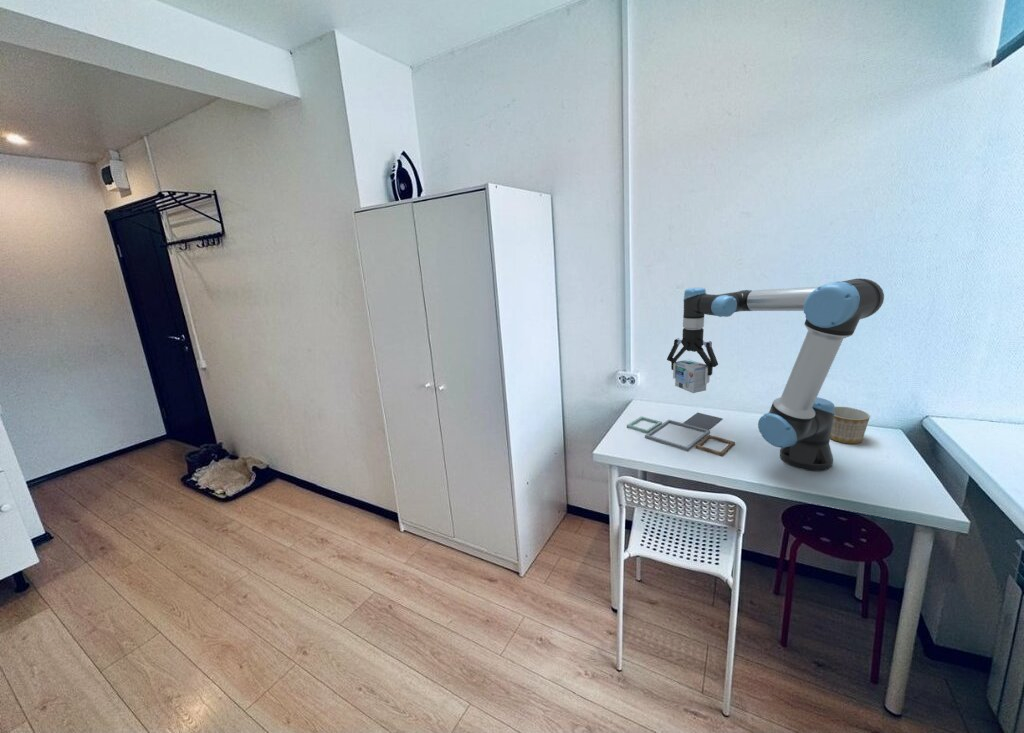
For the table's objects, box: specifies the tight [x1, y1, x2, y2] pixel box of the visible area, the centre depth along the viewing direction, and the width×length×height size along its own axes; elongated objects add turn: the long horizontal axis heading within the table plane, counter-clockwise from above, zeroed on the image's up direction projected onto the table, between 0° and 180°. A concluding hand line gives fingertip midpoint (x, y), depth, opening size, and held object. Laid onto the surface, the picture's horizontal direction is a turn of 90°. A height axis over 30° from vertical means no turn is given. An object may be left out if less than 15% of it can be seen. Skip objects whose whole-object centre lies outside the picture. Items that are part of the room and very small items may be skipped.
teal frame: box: [626, 415, 663, 434], centre depth 178 cm, size 10×12×1 cm
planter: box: [830, 406, 871, 445], centre depth 154 cm, size 13×13×10 cm
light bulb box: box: [674, 358, 708, 394], centre depth 165 cm, size 11×7×11 cm, turn 20°
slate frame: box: [644, 419, 711, 452], centre depth 168 cm, size 18×20×1 cm
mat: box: [682, 412, 723, 431], centre depth 178 cm, size 11×15×1 cm
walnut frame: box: [694, 434, 736, 457], centre depth 157 cm, size 10×12×1 cm
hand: (690, 380), depth 166 cm, fingers closed on light bulb box, 12 cm apart
